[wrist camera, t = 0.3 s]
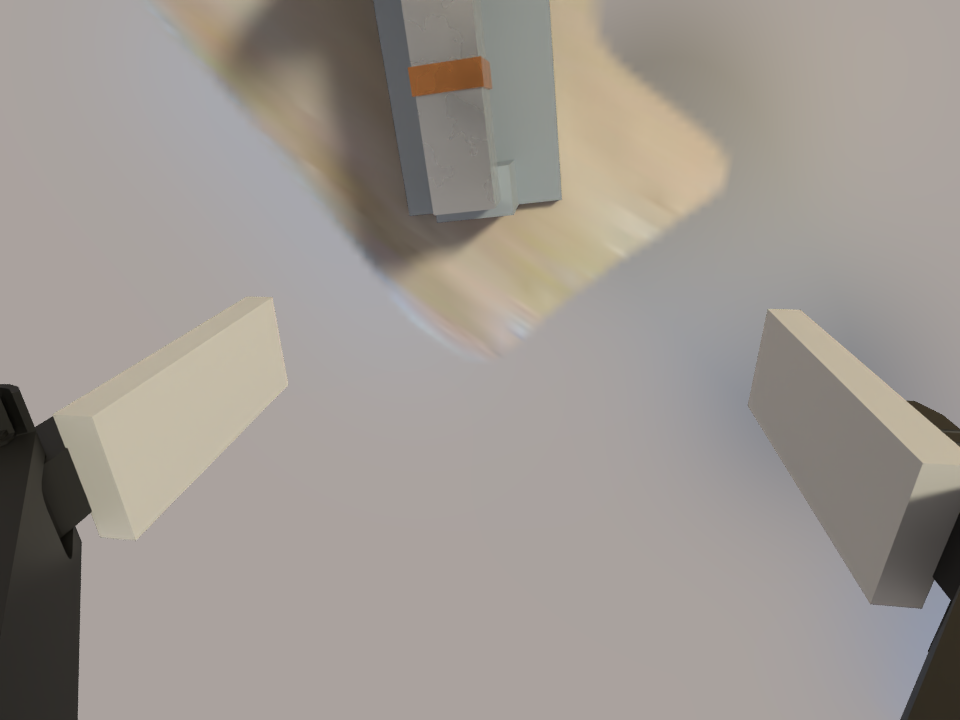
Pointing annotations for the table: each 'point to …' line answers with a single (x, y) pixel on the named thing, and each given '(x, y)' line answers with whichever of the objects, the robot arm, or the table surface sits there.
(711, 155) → the table surface
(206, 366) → the robot arm
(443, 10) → the brushed grey beam
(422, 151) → the stand
